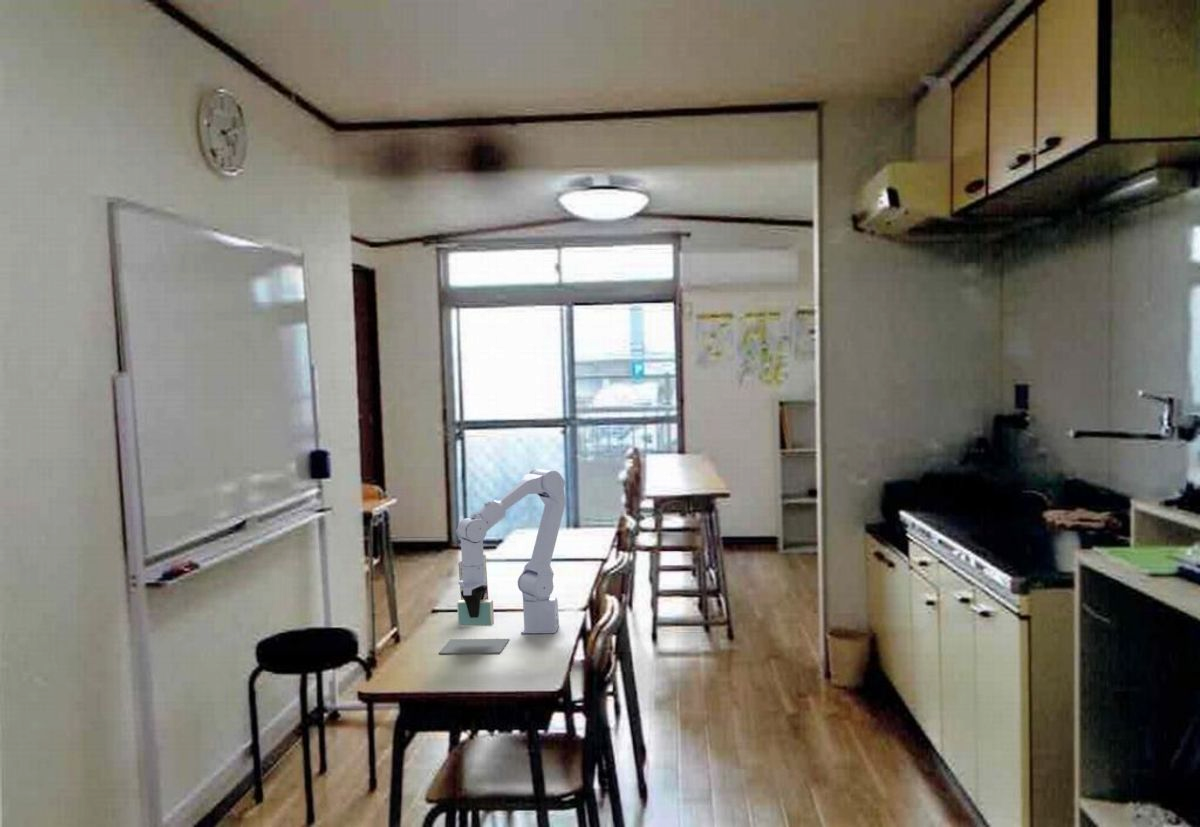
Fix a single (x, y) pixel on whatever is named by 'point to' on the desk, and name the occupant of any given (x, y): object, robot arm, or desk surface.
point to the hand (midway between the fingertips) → (475, 615)
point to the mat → (474, 646)
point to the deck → (482, 620)
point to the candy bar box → (485, 578)
